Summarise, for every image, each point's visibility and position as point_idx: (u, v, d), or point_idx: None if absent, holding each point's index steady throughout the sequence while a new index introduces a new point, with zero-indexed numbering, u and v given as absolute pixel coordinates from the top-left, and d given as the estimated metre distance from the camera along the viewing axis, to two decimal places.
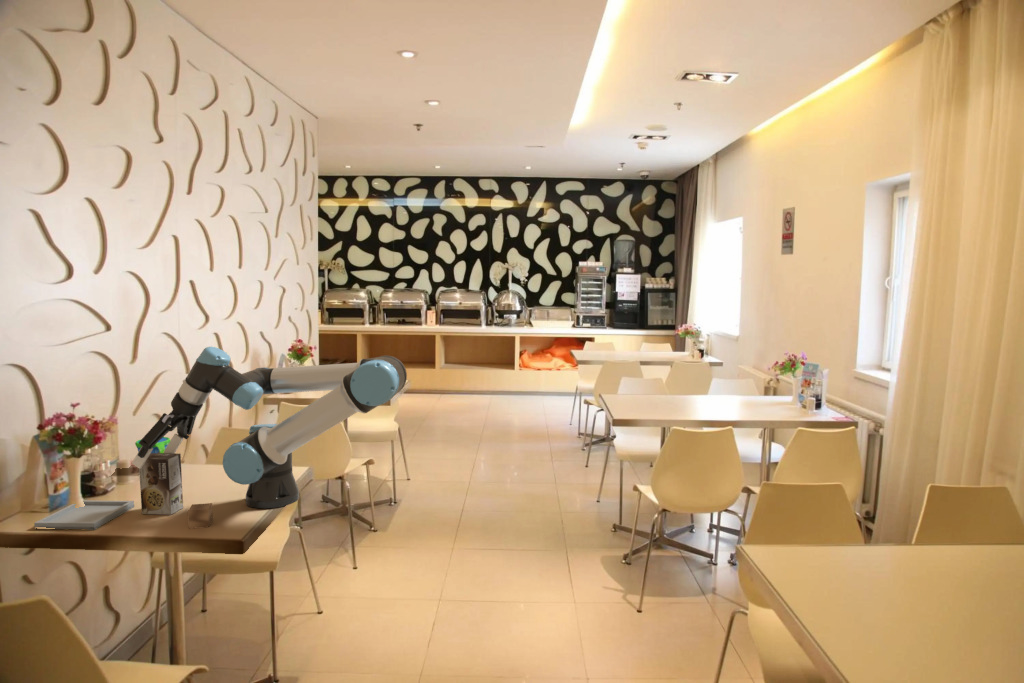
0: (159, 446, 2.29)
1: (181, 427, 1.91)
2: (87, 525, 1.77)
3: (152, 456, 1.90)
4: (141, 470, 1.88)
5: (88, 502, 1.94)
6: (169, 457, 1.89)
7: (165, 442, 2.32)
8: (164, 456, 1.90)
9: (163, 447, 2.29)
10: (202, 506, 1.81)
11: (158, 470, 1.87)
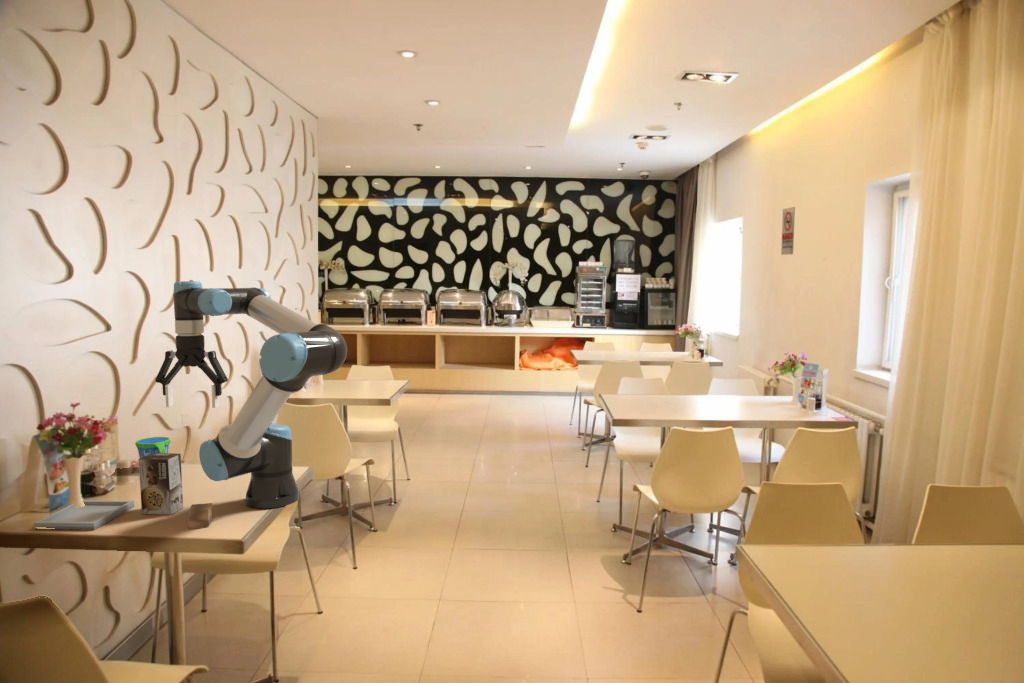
0: (159, 446, 2.29)
1: None
2: (87, 525, 1.77)
3: (152, 456, 1.90)
4: (141, 470, 1.88)
5: (88, 502, 1.94)
6: (169, 457, 1.89)
7: (165, 442, 2.32)
8: (164, 456, 1.90)
9: (163, 447, 2.29)
10: (202, 506, 1.81)
11: (158, 470, 1.87)
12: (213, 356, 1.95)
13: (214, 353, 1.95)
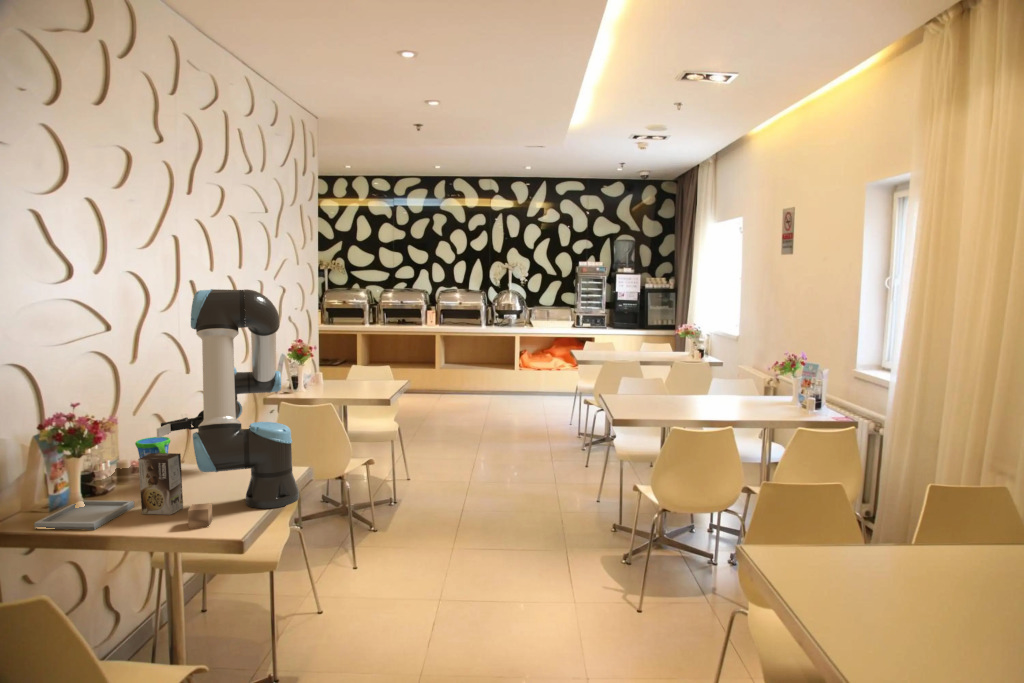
0: (159, 446, 2.29)
1: None
2: (87, 525, 1.77)
3: (152, 456, 1.90)
4: (141, 470, 1.88)
5: (88, 502, 1.94)
6: (169, 457, 1.89)
7: (165, 442, 2.32)
8: (164, 456, 1.90)
9: (163, 447, 2.29)
10: (202, 506, 1.81)
11: (158, 470, 1.87)
12: None
13: None
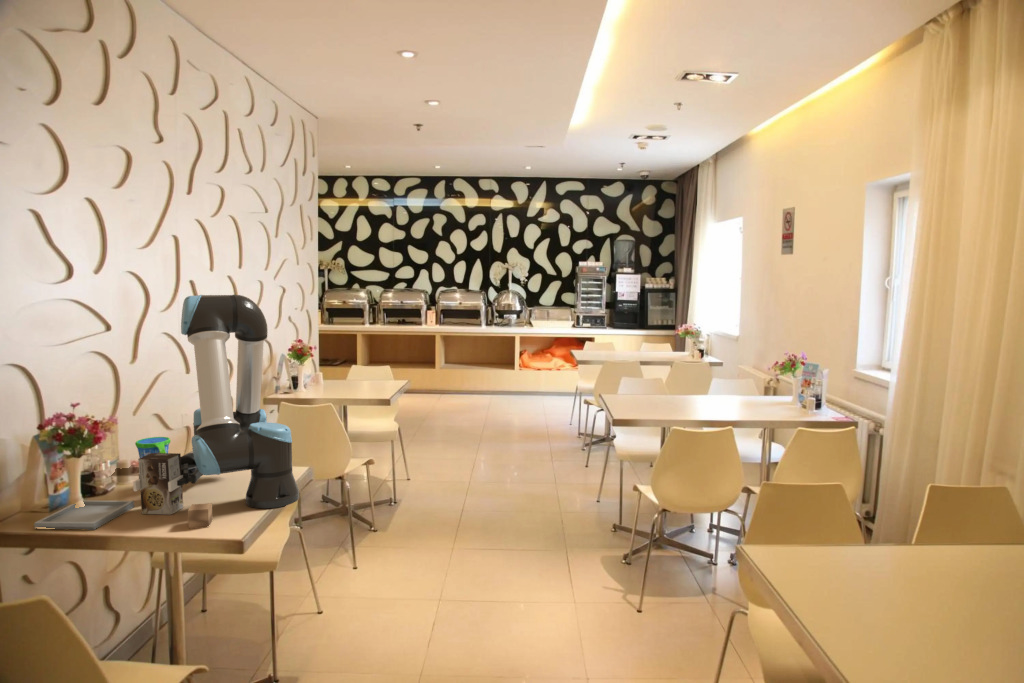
0: (159, 446, 2.29)
1: None
2: (87, 525, 1.77)
3: (152, 456, 1.90)
4: (141, 470, 1.88)
5: (88, 502, 1.94)
6: (169, 457, 1.89)
7: (165, 442, 2.32)
8: (164, 456, 1.90)
9: (163, 447, 2.29)
10: (202, 506, 1.81)
11: (158, 470, 1.87)
12: None
13: None
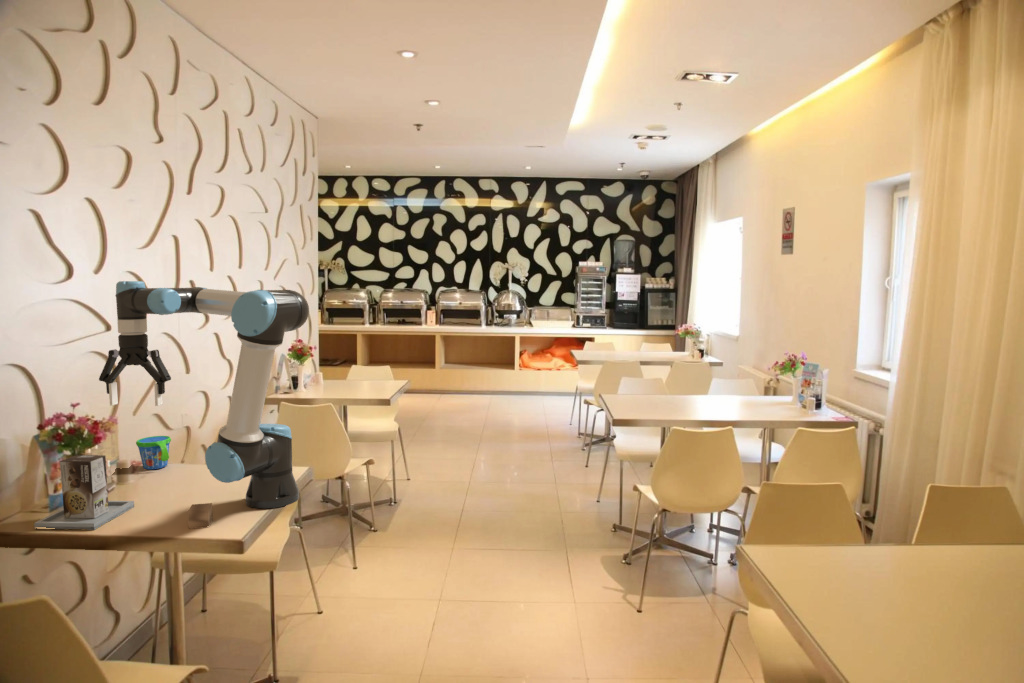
0: (161, 445, 2.30)
1: None
2: (87, 525, 1.77)
3: (75, 458, 1.84)
4: (63, 473, 1.82)
5: None
6: (92, 459, 1.83)
7: (166, 441, 2.33)
8: (87, 458, 1.84)
9: (165, 445, 2.31)
10: (202, 506, 1.81)
11: (81, 473, 1.82)
12: (156, 355, 1.97)
13: (157, 352, 1.98)
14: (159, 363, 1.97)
